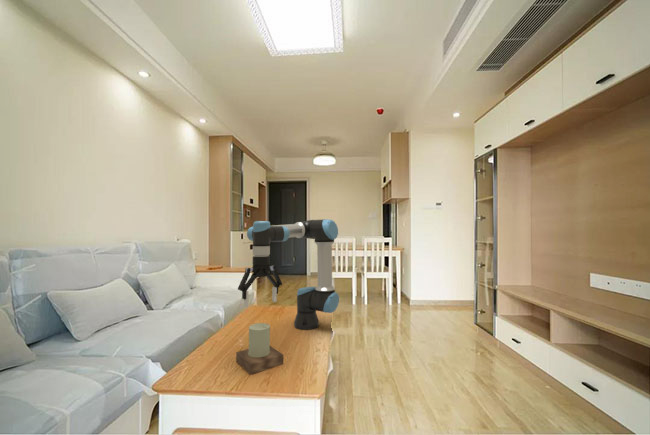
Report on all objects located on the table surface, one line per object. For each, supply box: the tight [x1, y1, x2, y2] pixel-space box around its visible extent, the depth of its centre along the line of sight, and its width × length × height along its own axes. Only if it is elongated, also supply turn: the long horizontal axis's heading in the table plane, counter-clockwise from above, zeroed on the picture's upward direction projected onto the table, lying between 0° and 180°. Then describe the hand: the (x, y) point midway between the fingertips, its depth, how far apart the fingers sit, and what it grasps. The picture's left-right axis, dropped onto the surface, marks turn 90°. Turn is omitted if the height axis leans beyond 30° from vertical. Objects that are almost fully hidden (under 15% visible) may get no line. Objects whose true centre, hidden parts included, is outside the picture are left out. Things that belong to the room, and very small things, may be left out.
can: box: [248, 322, 271, 358], centre depth 122 cm, size 9×9×12 cm
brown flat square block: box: [235, 345, 284, 376], centre depth 122 cm, size 15×15×4 cm
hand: (260, 304), depth 123 cm, fingers open, 13 cm apart
